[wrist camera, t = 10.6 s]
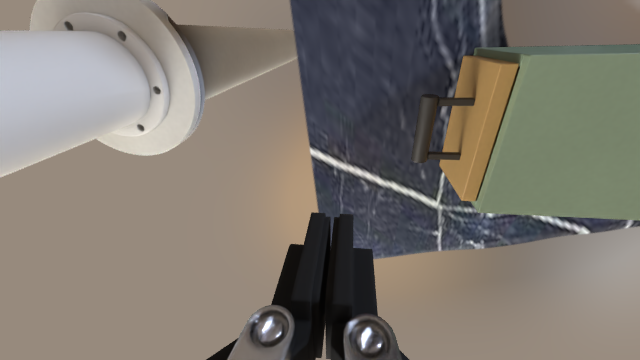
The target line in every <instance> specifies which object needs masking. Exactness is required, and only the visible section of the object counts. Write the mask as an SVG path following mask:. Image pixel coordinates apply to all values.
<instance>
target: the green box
mask: <svg viewBox="0 0 640 360" xmlns="http://www.w3.org/2000/svg"><path fill="white" fill-rule="evenodd" d="M476 55H477V56H482V57H487V58H492V59H498V60H503V61H508V62H514V63H519V67H520V69H519V72H518V75H517V79H516V82H515V85H514V88H513V91H512V94H511V97H510V100H509V103H508V106H507V110H506V113H505V116H504V119H503V122H502V125H501V128H500V131H499V134H498V137H497V141H496V144H495V147H494V150H493V153H492V156H491V159H490V162H489V165H488V168H487V172H486V175H485V178H484V181H483V182H481V185H480V189H479V192H478V195H477V198H476V201H471V203H472V204H473V206H474V207H475V209H476V210H477V212H478V213H497V214H518V215H540V216H561V217H583V218H605V219H626V220H640V44H638V45H637V44H636V45H635V44H634V45H587V46H537V47H487V48H475V51H474V55H473V56H476Z"/></svg>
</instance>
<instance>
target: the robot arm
mask: <svg viewBox="0 0 640 360" xmlns="http://www.w3.org/2000/svg"><path fill="white" fill-rule="evenodd" d="M169 99H170V97H169V87H168V83H167V79H166V76H165V73H164V71H163V69H162V66H161V64H160V62H159V61H158V59H157V57H156V56H155V54H154V52H153V51H152V50H151V49H150V47H149V46H148V45H147V44H146V42H145V41H144V40H143V39H142V38H141V37H140V36H139V35H138V34H136V33H135V32H134V31H133V30H132V29H130V28H129V27H127V26H126V25H125V24H123V23H122V22H120V21H117V20H115V19H113V18H111V17H109V16H105V15H102V14H96V13H86V12H85V13H74V14H71V15H68V16H65V17H64V18H63V19H62V20H60V21H59V22H58V23H57V25H56V26H55V28H54V29H53V31H10V30H9V31H8V30H5V31H4V30H0V177H2V176H5V175H8V174H10V173H13V172H15V171H18V170H20V169H23V168H25V167H27V166H30V165H32V164H35V163H37V162H40V161H42V160H44V159H47V158H50V157H52V156H54V155H57V154H59V153H62V152H64V151H67V150H69V149H71V148H74V147H76V146H79V145H81V144H84V143H86V142H88V141H91V140H93V139H96V138H98V137H101V136H103V135H106V134H108V133H114V134H118V135H121V136H140V135H143V134H146V133H148V132H150V131H152V130H154V129H156V128H157V127H158V126H159V125H160V124H161V123H162V122H163V120H164V119H165V117H166V114H167V111H168V108H169ZM325 326H326V359H331V360H409V359H408V358H407V357H406V356H405V355H404V354H403V353H402V352H401V351H400V350H399V347H398V344H397V340H396V337H395V334H394V332H393V330H392V328H391V327H390V326H389V324H388V323H387V322H386V321H385V320H383V319H382V318H381V317H378V314H377V301H376V289H375V276H374V265H373V252H372V249H361V248H353V215H352V214H340V217H334V225H333V234H332V243H331V235H330V217H326V216H325V213H311V217H310V221H309V226H308V229H307V233H306V238H305V242H304V245H298V244H291V245H290V246H289V249H288V252H287V255H286V258H285V262H284V265H283V269H282V272H281V275H280V278H279V281H278V285H277V288H276V291H275V294H274V298H273V301H272V304H271V305H269V306H265V307H263V308H261V309H259V310H257V311H256V312H255V313H254V314H252V316H251V317H250V318H249V320H248V321H247V323H246V325H245V327H244V329H243V330H242V332H241V334H240V336H239V338H238V339H236V340H235V341H233V342H232V343H230V344H229V345H227V346H226V347H224V348H223V349H221V350H220V351H218V352H217V353H216V354H214V355H213V356H211V357H210V358H208V359H207V360H315V359H316V358H321V357H322V349H323V339H324V329H325Z"/></svg>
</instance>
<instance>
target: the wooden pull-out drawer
mask: <svg viewBox="0 0 640 360" xmlns="http://www.w3.org/2000/svg"><path fill="white" fill-rule="evenodd" d="M519 69H520V67H519V63H514V62H508V61H503V60H498V59H492V58H487V57H482V56H477V55H476V56H463V61H462V65H461V70H460V74H459V79H458V83H457V88H456V92H455V97H454V98H439V96H438V95H433V94H424V95H422V96H421V101H420V107H419V113H418V120H417V126H416V132H415V138H414V145H413V151H412V157H411V160H412V161H414V162H417V163H424V162H426V161H427V159H434V160H440V165H439V166H440V167H441V169H442V170H443V172H444V173H445V175H446V177H447V178H448V180H449V181H450V183H451V184H452V186H453V188H454V189H455V191H456V192H457V194H458V195H459V197H460V199H461V200H462V201H476V198H477V195H478V192H479V189H480V185H481V182H483V181H484V178H485V175H486V172H487V168H488V165H489V162H490V159H491V156H492V153H493V150H494V147H495V144H496V141H497V137H498V134H499V131H500V128H501V125H502V122H503V119H504V116H505V113H506V110H507V106H508V103H509V100H510V97H511V94H512V91H513V88H514V85H515V82H516V79H517V75H518V72H519ZM437 105H438V106H452V111H451V115H450V120H449V124H448V129H447V133H446V138H445V142H444V147H443V151H442V152H428V151H429V146H430V141H431V135H432V130H433V125H434V120H435V115H436V109H437Z"/></svg>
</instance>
